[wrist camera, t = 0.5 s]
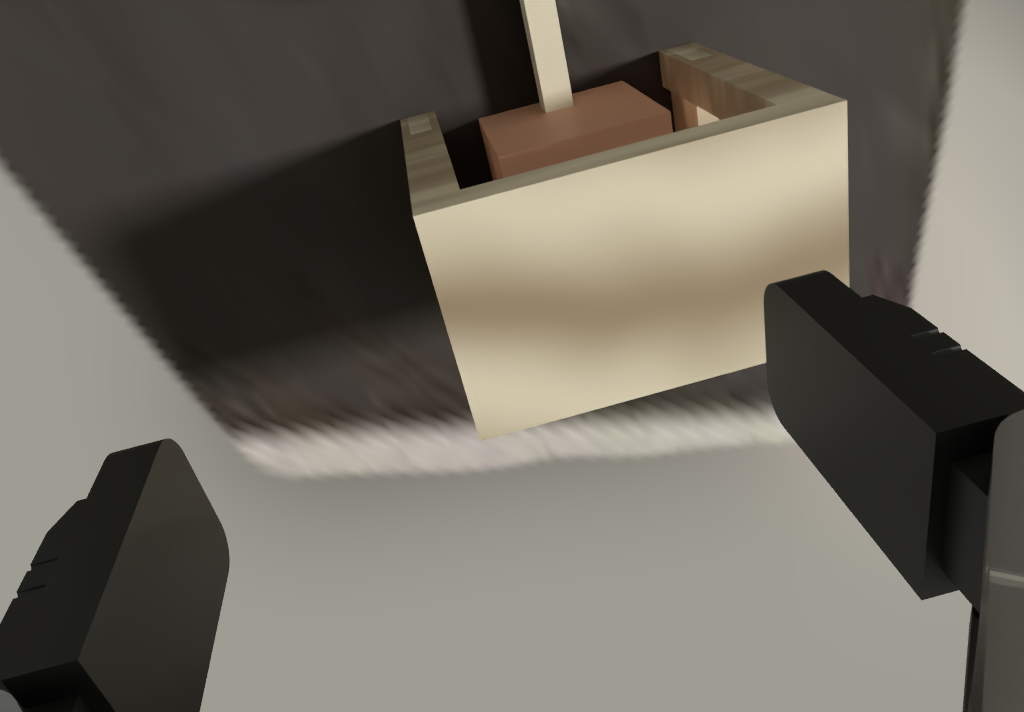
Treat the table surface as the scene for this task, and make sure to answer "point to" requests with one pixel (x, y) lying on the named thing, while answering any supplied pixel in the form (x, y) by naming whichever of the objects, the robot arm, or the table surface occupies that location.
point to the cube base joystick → (565, 109)
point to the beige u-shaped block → (634, 245)
